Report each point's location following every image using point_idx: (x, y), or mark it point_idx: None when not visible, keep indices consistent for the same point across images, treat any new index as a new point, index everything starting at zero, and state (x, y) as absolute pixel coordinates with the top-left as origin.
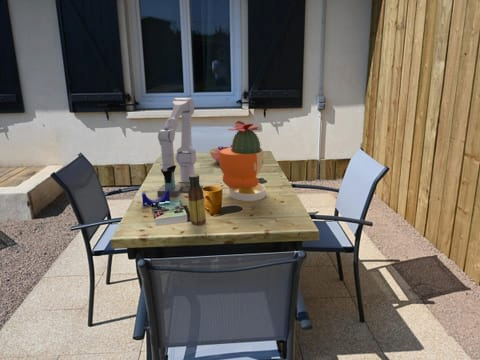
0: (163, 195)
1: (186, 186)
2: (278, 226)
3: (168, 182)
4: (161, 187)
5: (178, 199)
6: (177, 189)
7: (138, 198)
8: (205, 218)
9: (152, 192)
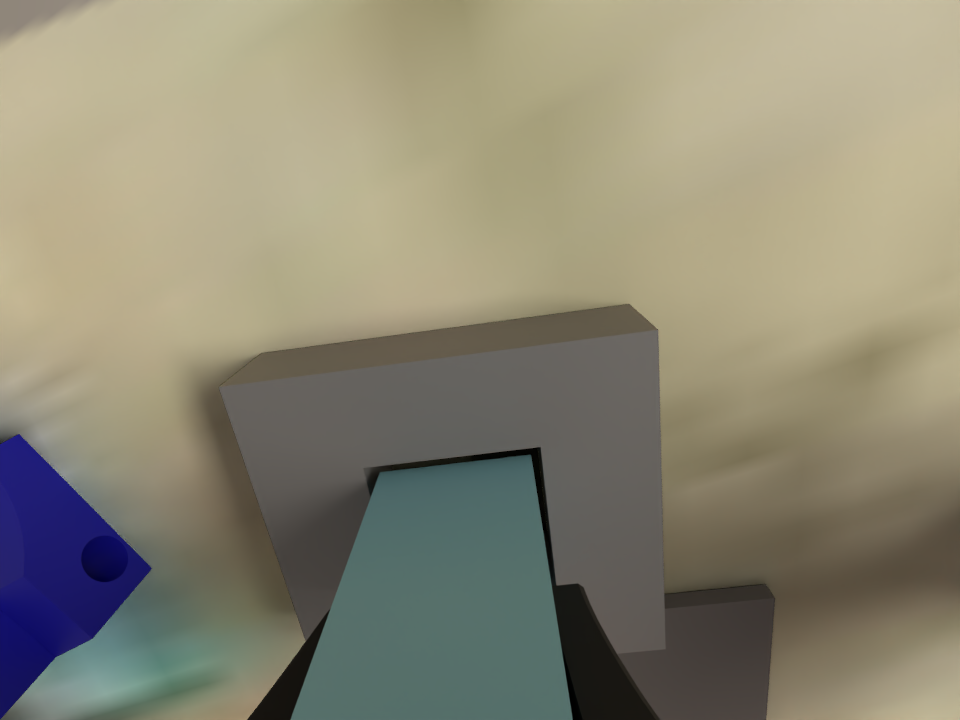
0: (23, 588)
1: (742, 617)
2: None
3: None
4: (455, 376)
5: (229, 655)
6: None
7: (15, 51)
8: None
9: (423, 172)
